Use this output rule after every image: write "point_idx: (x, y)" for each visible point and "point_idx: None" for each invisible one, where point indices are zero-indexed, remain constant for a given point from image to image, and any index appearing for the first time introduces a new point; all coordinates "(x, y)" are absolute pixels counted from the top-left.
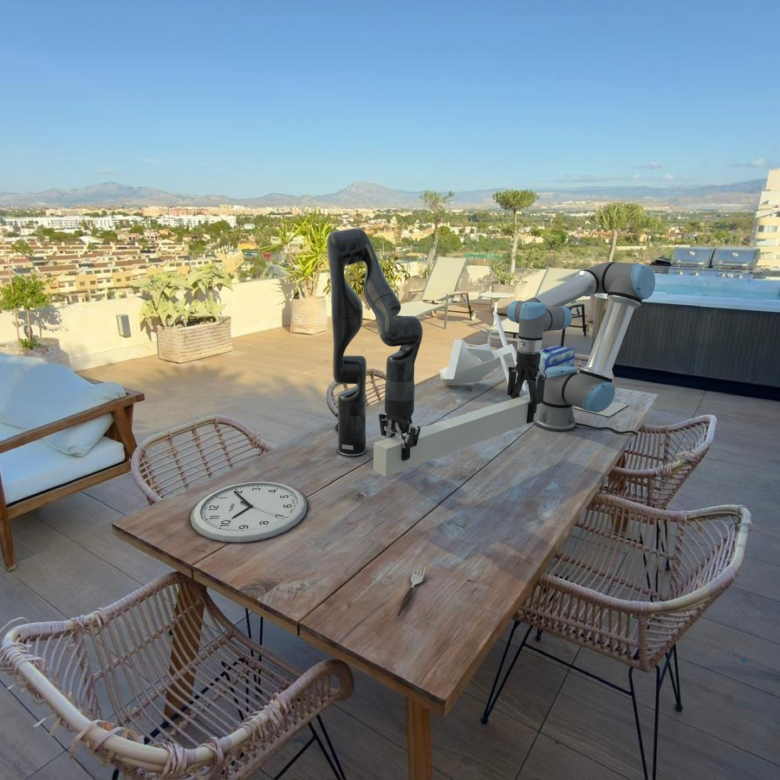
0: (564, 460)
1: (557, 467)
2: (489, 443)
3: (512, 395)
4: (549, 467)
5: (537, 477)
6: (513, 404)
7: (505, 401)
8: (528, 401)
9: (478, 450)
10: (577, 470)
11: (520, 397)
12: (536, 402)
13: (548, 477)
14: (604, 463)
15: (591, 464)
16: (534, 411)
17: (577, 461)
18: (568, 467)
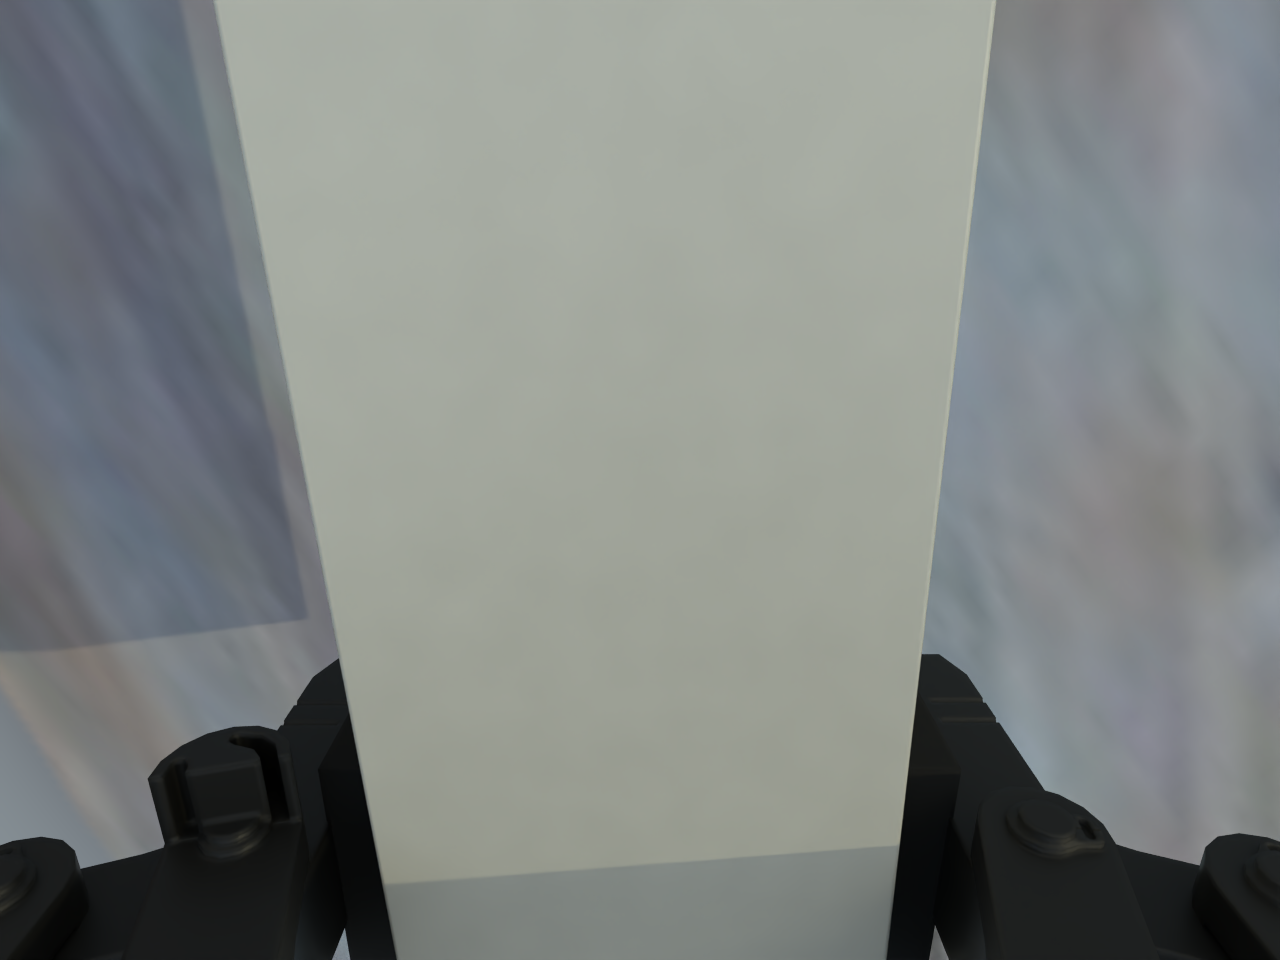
0: (302, 613)
1: (225, 444)
2: (1012, 378)
3: (1092, 874)
4: (262, 384)
5: (145, 77)
6: (439, 88)
7: (956, 139)
8: (391, 845)
9: (998, 116)
10: (95, 530)
11: (823, 950)
12: (8, 877)
13: (96, 178)
14: (101, 797)
15: (133, 711)
16: (305, 713)
17: (231, 677)
18: (178, 521)
